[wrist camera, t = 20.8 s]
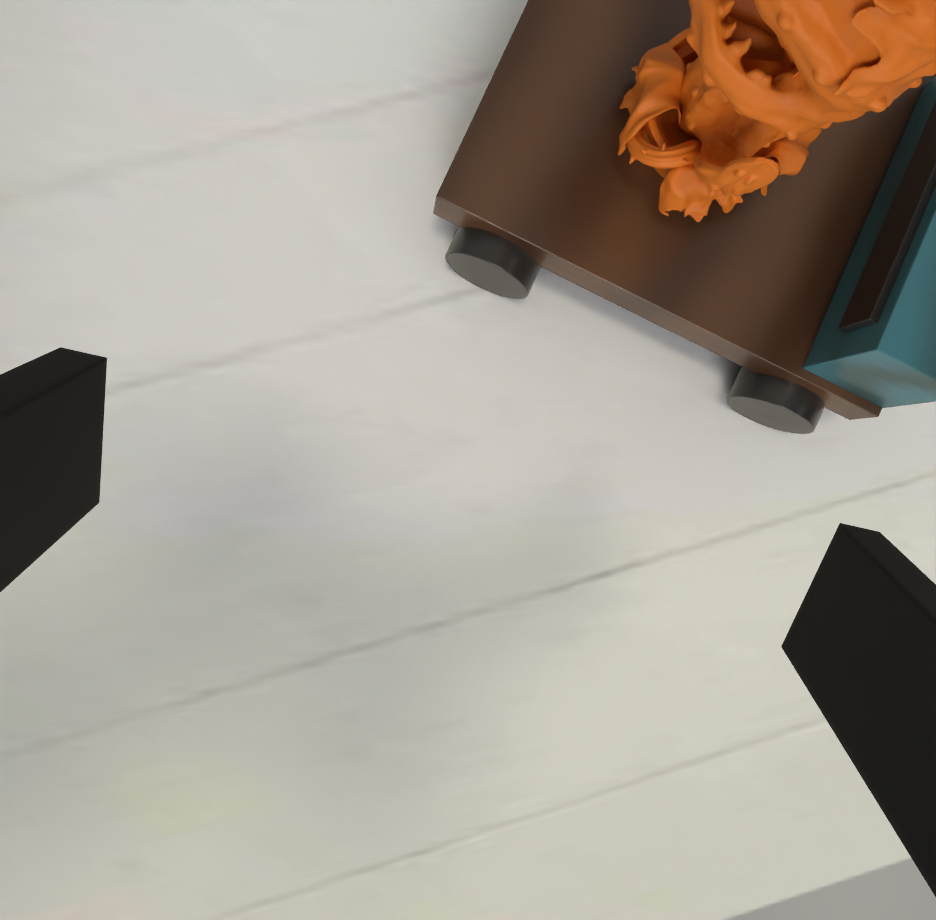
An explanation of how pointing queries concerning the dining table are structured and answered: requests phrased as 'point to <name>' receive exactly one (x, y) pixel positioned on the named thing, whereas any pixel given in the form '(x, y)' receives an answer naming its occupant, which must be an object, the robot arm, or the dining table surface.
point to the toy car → (706, 223)
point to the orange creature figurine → (766, 89)
